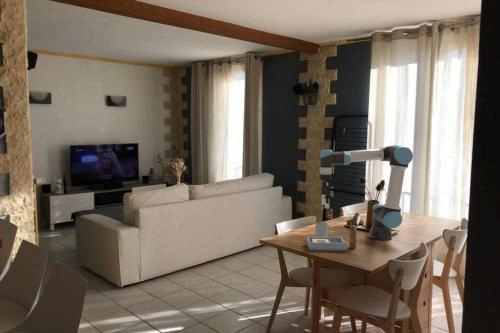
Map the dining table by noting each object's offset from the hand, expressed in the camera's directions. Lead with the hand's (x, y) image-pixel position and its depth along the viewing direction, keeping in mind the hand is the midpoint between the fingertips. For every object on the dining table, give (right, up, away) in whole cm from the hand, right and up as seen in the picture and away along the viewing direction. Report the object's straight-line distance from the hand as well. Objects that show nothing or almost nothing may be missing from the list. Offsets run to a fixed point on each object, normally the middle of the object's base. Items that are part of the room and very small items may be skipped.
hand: (325, 206), depth 260 cm
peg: (+16, -26, -8) cm, 31 cm away
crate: (-1, -25, -8) cm, 26 cm away
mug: (+1, -24, +12) cm, 27 cm away
